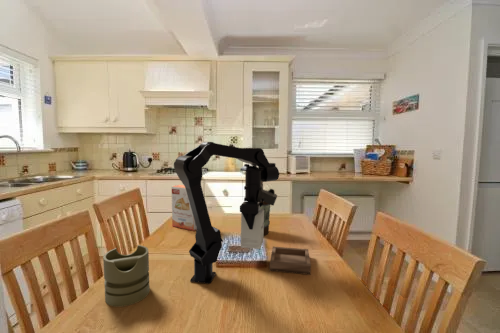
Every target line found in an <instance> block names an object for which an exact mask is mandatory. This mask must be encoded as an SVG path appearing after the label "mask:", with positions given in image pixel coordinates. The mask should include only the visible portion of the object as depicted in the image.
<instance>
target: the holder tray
mask: <svg viewBox="0 0 500 333" xmlns="http://www.w3.org/2000/svg"><path fill="white" fill-rule="evenodd" d="M310 257H311V256H310V252H309V248H308V249H307V248H298V247H297V248H295V247H286V246H285V247H284V246H272V249H271V253H270V259H269V272H277V273H286V274H298V275H300V274H301V275H311V274H312V272H311V270H312V269H311V268H312V264H311V259H310Z"/></svg>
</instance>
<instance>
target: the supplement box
mask: <svg viewBox="0 0 500 333" xmlns="http://www.w3.org/2000/svg"><path fill="white" fill-rule="evenodd" d="M240 213H241V212H240ZM240 216H241V217H240V248H242V249H243V248H245V249H254V250H261V248H262V246H263V243H264V236H263V234H264V209H260V210H259V213H258V214H257V215H256V216H255V220H254V225H253V229H252V230H251V229H249V227H248V225H247V222H246V220H245V218H244V216H243V214H242V213H241V214H240Z"/></svg>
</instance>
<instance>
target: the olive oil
mask: <svg viewBox="0 0 500 333" xmlns="http://www.w3.org/2000/svg"><path fill="white" fill-rule="evenodd" d="M261 185H262V186H263V187H264V182H262V181H261ZM260 203H263V205H262V206H261V207H260V209H264V234H263V237H264V236H267V235H269V232H270V222H271V221H270V215H271V205H270V204H269V203H266V202H262V201H261V202H260Z"/></svg>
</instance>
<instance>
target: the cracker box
mask: <svg viewBox="0 0 500 333" xmlns="http://www.w3.org/2000/svg"><path fill="white" fill-rule="evenodd" d="M171 216H172V217H171V225H172V227H174V228H179V229H183V230H188V231H193V232H194V231H196V230H197V227H196V224H195V220H194V217H193V213H192V209H191V206H190V202H189V199H188V195H187V192H186V188H185V186H184V184H175V185H172V186H171Z"/></svg>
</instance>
